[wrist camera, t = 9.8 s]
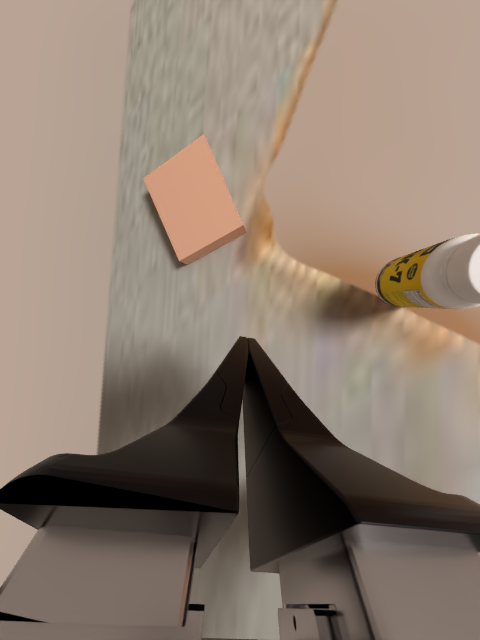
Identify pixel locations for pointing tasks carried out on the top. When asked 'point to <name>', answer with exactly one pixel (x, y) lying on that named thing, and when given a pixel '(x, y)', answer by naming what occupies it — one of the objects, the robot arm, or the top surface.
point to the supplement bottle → (434, 276)
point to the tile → (194, 202)
